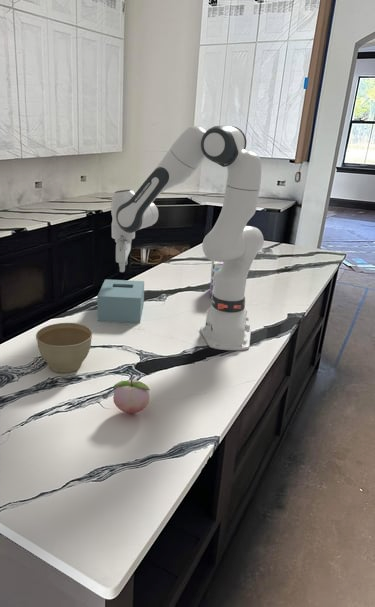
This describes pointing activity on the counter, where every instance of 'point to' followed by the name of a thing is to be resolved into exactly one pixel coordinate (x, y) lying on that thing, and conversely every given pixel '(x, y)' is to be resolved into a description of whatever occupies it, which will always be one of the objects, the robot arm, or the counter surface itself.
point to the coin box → (121, 301)
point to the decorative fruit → (131, 396)
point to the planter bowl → (64, 345)
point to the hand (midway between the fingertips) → (123, 268)
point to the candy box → (215, 268)
